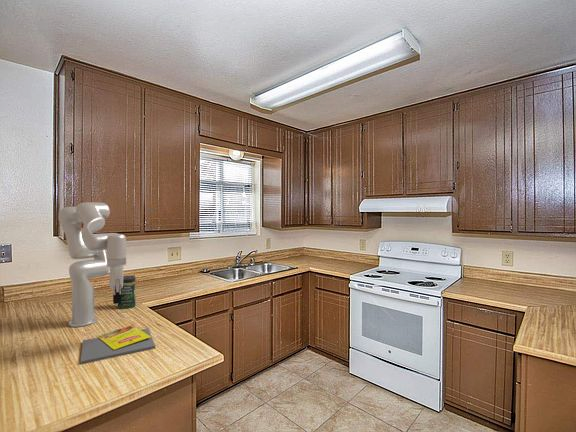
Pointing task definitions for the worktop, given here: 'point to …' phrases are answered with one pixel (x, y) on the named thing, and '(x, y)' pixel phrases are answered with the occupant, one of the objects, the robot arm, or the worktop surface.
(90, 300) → the robot arm
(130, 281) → the coffee jar
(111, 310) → the worktop surface
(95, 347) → the rubber mat
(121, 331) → the food package
